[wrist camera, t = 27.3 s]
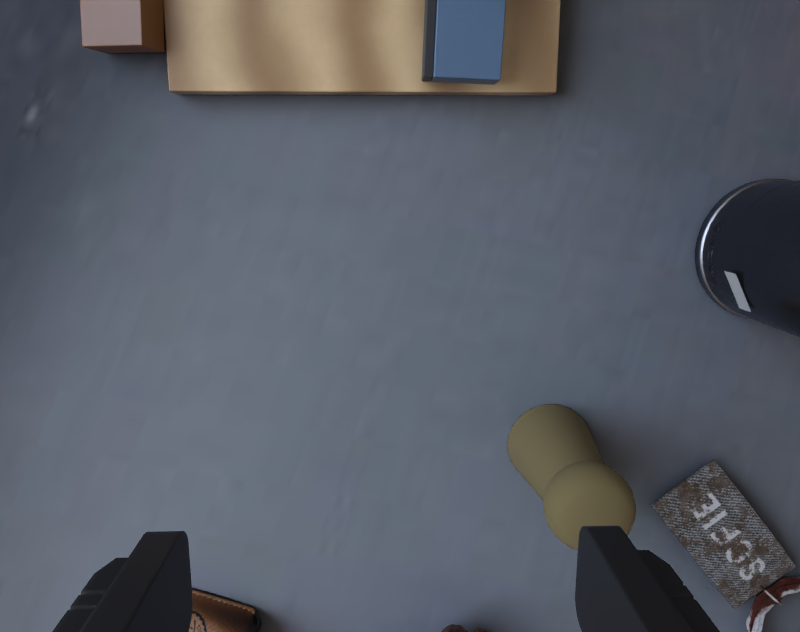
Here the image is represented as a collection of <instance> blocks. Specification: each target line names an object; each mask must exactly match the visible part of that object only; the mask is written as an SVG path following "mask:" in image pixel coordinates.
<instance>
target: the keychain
mask: <svg viewBox="0 0 800 632" xmlns="http://www.w3.org/2000/svg"><path fill="white" fill-rule="evenodd" d="M651 506H652V507H653V508H654V509H655V511H656V512H657V513H658V515H659V516H660V517H661V518H662V520H663V521H664V522H665V523H666V525H667V526H668V527H669V528H670V530H671V531H672V532H673V533H674V534H675V536H676V537H677V538H678V539H679V541H680V542H681V543H682V544H683V546H684V547H685V548H686V549H687V551H688V552H689V553H690V554H691V556H692V557H693V558H694V559H695V561H696V562H697V563H698V564H699V566H700V567H701V568H702V569H703V571H704V572H705V573H706V574H707V576H708V577H709V578H710V579H711V581H712V582H713V583H714V584H715V586H716V587H717V588H718V589H719V591H720V592H721V593H722V594H723V596H724V597H725V598H726V599H727V600H728V602H729V603H730V604H731V605H732V607H733V608H734V609H736V608H737V607H738V606H740V605H741V604H743V603H744V602H746V601H747V600H749V599H750V598H751V597H753V596H754V595H756V594H757V593H759V592H760V591H762V590H763V591H762V592H760V593H759V594H758V595H757V596H756V598H755V600H754V603H753V605H752V608H751V610H750V612H749V615H748V617H747V620H746V626H747V629H748V632H762V627H763V622H764V618H765V614H766V613H767V612H768V611H769V610H770V609H771V608H773V607H774V606H775V605H776V604H777V603H778V604H779V605H781V602H780V600H781V599H782V598H783V597H784V596H785V595H789V594H793V593H797V592H800V576H799V577H785V578H781V579H779V578H780V577H782V576H783V575H785V574H786V573H788V572H789V571H790V570H792V569H793V568H795V567H796V566H795V565H794V563H793V562H792V560H791V559H790V558H789V556H788V555H787V553H786V552H785V551H784V549H783V548H782V546H781V545H780V544H779V542H778V541H777V540H776V538H775V537H774V536H773V534H772V533H771V532H770V530H769V529H768V528H767V526H766V525H765V524H764V522H763V521H762V520H761V518H760V517H759V516H758V515H757V513H756V512H755V511H754V509H753V508H752V507H751V505H750V504H749V503H748V502H747V500H746V499H745V498H744V496H743V495H742V494H741V493H740V491H739V490H738V489H737V488H736V486H735V485H734V484H733V483H732V481H731V480H730V479H729V478H728V476H727V475H726V474H725V473H724V471H723V470H722V469H721V468H720V466H719V465H718V464H717V463H716V461H715V460H714V459H713V460H711V461H710V462H709V463H707V464H706V465H705V466H703V467H702V468H700V469H699V470H698V471H696V472H695V473H694V474H692V475H691V476H689V477H688V478H687V479H685V480H684V481H683V482H681V483H680V484H678V485H677V486H676V487H674V488H673V489H672V490H670V491H669V492H667V493H666V494H665V495H663V496H662V497H660V498H659V499H658V500H656V501H655V502H654V503H652V504H651ZM777 579H779V580H778V581H776V580H777ZM775 581H776V582H775ZM773 582H775V583H773ZM772 583H773V584H772ZM770 584H772V585H771V586H769V585H770ZM767 586H769V587H768V588H766V587H767Z"/></svg>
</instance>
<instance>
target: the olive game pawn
mask: <svg viewBox="0 0 800 632" xmlns="http://www.w3.org/2000/svg"><path fill="white" fill-rule="evenodd" d="M508 453H509V456H510V460H511V462H512V464H513V465H514V466H515V468H516V469H517V470H518V472H519V473H520V474H521V475H522V476H523V478H524V479H525V480H526V481H527V482H528V483H529V485H530V486H531V487H532V488H533V489H534V490H535V492H536V493H537V494H538V495H539V496H540V497H541V499H542V500H543V501H544V513H545V517H546V520H547V523H548V525H549V527H550V529H551V530H552V532H553V533H554V534H555V536H556V537H557V538H558V539H559V540H560V541H561V542H563V543H564V544H566V545H567V546H569V547H570V548H572V549H575V550H578V542H579V533H580V529H581V527H582V526H620V527H621V528H622V529H623V531H624V532H625V533H626V535H628V534H629V532H630V529H631V527H632V525H633V523H634V520H635V513H636V505H635V501H634V497H633V493H632V490H631V488H630V487H629V485H628V484H627V482H626V481H625V480H624V478H623V477H622V476H621V475H620V474H619V473H617V472H616V471H615V470H613V469H612V468H610V467H609V466H606V465H605V464H604V462H603V460H602V457H601V455H600V453H599V451H598V449H597V446H596V444H595V442H594V440H593V438H592V435H591V433H590V431H589V429H588V427H587V425H586V423H585V422H584V420H583V419H582V418H581V416H580V415H579V414H577V413H576V412H574V411H573V410H572V409H570V408H568V407H564V406H561V405H558V404H545V405H541V406H538V407H535V408H532V409H530V410H529V411H527V412H526V413H524V414H523V415H521V416H520V418H519V419H518V420H517V421H516V422H515V424H514V425H513V426H512V429H511V432H510V434H509V437H508Z"/></svg>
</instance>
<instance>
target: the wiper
mask: <svg viewBox="0 0 800 632" xmlns="http://www.w3.org/2000/svg"><path fill="white" fill-rule="evenodd" d="M505 10H506V0H425V13H424V35H423V57H422V78H421V80H422V81H426V82H430V81H432V82H447V83H468V84H489V85H495V84H496V83H497V82H498V81H500V79H501V68H502V54H503V39H504V25H505Z"/></svg>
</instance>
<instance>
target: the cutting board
mask: <svg viewBox="0 0 800 632" xmlns="http://www.w3.org/2000/svg"><path fill="white" fill-rule="evenodd" d="M560 3H561V0H506V10H505V25H504V39H503V54H502V68H501V79H500V81H498V82H497V83H496V84H495V85H489V84H468V83H447V82H432V81H430V82H426V81H422V80H421V78H422V57H423V35H424V13H425V0H163V9H164V23H165V38H166V52H167V66H168V81H169V91H170V92H173V93H175V94H234V95H552V94H554V93H556V90H557V68H558V46H559V25H560Z"/></svg>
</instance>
